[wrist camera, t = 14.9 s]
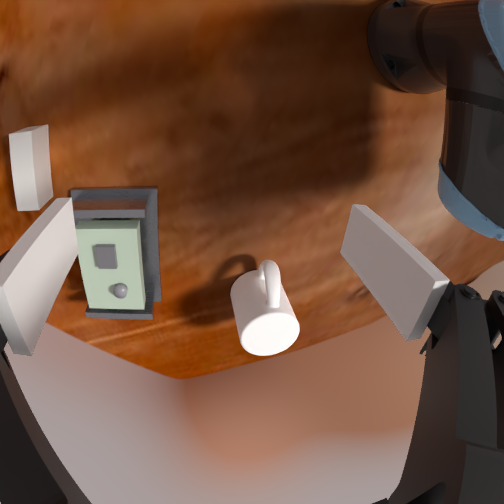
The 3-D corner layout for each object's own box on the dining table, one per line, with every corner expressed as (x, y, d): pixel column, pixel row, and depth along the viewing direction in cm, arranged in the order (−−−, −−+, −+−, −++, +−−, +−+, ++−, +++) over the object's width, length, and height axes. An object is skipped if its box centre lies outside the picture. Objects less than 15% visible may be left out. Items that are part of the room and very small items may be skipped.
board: (79, 220, 35) (71, 233, 32) (139, 220, 36) (135, 232, 34) (93, 297, 41) (87, 312, 38) (145, 298, 42) (143, 314, 39)
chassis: (72, 188, 36) (56, 204, 31) (157, 186, 39) (153, 202, 34) (90, 296, 45) (81, 321, 40) (161, 297, 48) (160, 323, 42)
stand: (26, 127, 30) (8, 134, 26) (48, 124, 31) (31, 130, 27) (33, 197, 35) (17, 211, 31) (53, 195, 36) (39, 210, 32)
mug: (236, 357, 42) (248, 289, 37) (227, 310, 51) (236, 246, 45) (292, 354, 44) (313, 289, 39) (275, 310, 53) (290, 248, 47)
